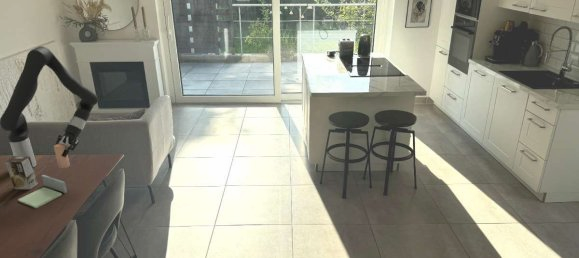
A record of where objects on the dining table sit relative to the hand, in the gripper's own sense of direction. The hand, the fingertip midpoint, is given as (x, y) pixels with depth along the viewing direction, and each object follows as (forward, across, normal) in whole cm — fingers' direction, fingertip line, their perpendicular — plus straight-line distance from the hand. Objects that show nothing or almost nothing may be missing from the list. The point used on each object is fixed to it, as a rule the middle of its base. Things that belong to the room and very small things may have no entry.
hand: (59, 155), depth 204 cm
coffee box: (+20, -14, +2) cm, 24 cm away
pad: (+23, +4, -1) cm, 23 cm away
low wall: (+16, +3, +5) cm, 17 cm away
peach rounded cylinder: (+4, 0, +6) cm, 7 cm away
